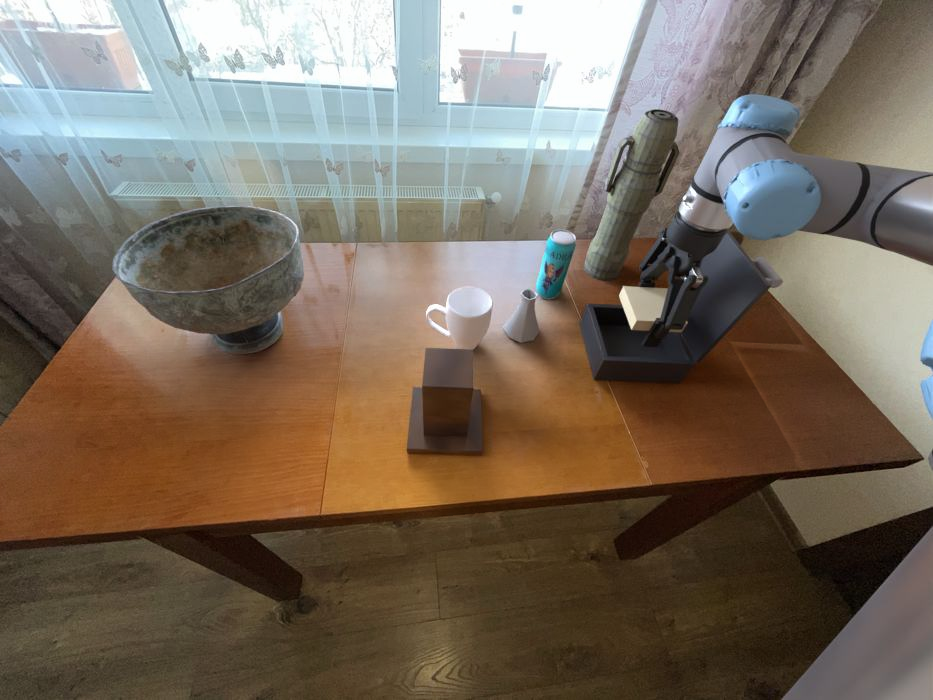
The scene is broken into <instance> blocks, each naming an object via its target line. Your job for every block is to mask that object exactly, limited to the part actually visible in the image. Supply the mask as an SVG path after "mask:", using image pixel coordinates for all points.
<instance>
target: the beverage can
mask: <svg viewBox="0 0 933 700" xmlns="http://www.w3.org/2000/svg"><path fill="white" fill-rule="evenodd" d="M576 241H577V237H576V235H575V234H574V233H572V232H571V231H570V230H566V229H554V230H553V231H552V232H551V233H550V236H549V237H548V238H547V241H546V245H545V249H544V253H543V256H542V261H541V264H540V268H539V273H538V276H537V280H536V284H535V288H536V289H535V290H536V292H537V294H538V297H540V298H541V299H543V300H547V301H548V300H554V299H555V298H557V297H558V296H559V295H560V294H561V292H562V289H563V286H564V283H565V280H566V278H567V274H568V271H569V268H570V265H571V262H572V260H573V259H572V258H573V255H574V252H575V249H576V246H577V245H576Z"/></svg>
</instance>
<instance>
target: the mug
mask: <svg viewBox="0 0 933 700" xmlns="http://www.w3.org/2000/svg"><path fill="white" fill-rule="evenodd" d="M493 304H494V303H493V299H492V297H491V296H490V294H489V293H488V292H487V291H486V290H483V289H482V288H479V287H476V286H461V287H458V288H455V289H454V290H452V291H451V292H450V293H449V294H448V295H447V298H446V306H442V305H440V304H437V303H435V304H431V305H430V306H429V307H428V308H427V310H426V312H425V313H426V314H425V319H426V322H427V324H428V326H429V327H431V328H432V329H433V330H434V331H436V332H437V333H439V334H441V335H443V336H444V337H446V338H451V339H452V341H453V343H454V345H455V347H456V349H470V350H473V351H474V350H475V349H476V347H477V346H478V345H479V344H480V342H481V341H482V339H484V337H485V336H486V334H487V332H488V330H489V327H490V324H491V320H492V313H493ZM434 311H436V312H439V313H441V314H442V315H444V318H445V324H446V328H447V329H445V328H443V327H442V326H440V325H438V324H437V323H435V322H434V321H433V320H432V319H431V317H430V314H431V313H432V312H434Z"/></svg>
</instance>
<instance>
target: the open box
mask: <svg viewBox="0 0 933 700" xmlns="http://www.w3.org/2000/svg"><path fill="white" fill-rule="evenodd" d="M578 324H579V325H578V326H579V328H580V332H581V336H582V340H583V345H584V347H585V352H586V356H587V359H588V363H589V367H590V371H591V375H592V378H593V381H606V382H607V381H609V382H610V381H612V382H632V383H633V382H634V383H659V384H681V383H682V382H683V381H684V379H685V378H686V377H687V376H688V375H689V374H690V372H691V371H692V370H693V368H694V367H695V366H696V364H697V362H695V361H694V358H693V356H692V354H691V352H690V350H689V348H688V346H687V344H686V342H685V340H684V338H683V336H682V334H681V332H668V334H667V335H666V337H665V338H663V339H662V340H661V342H660V344H659V345H658V347H643V346H642V344H641V343H642V342H643V340H644V338H645V337H646V335H647V333H648V332H649V331H642V330H631V327H630V325H629V322H628V319H627V317H626V314H625V311H624V308H623V306H622V304H609V303H589V302H588V303H586V306H585V309H584V311H583V313H582V315H581V319H580V320H579V323H578Z"/></svg>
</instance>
